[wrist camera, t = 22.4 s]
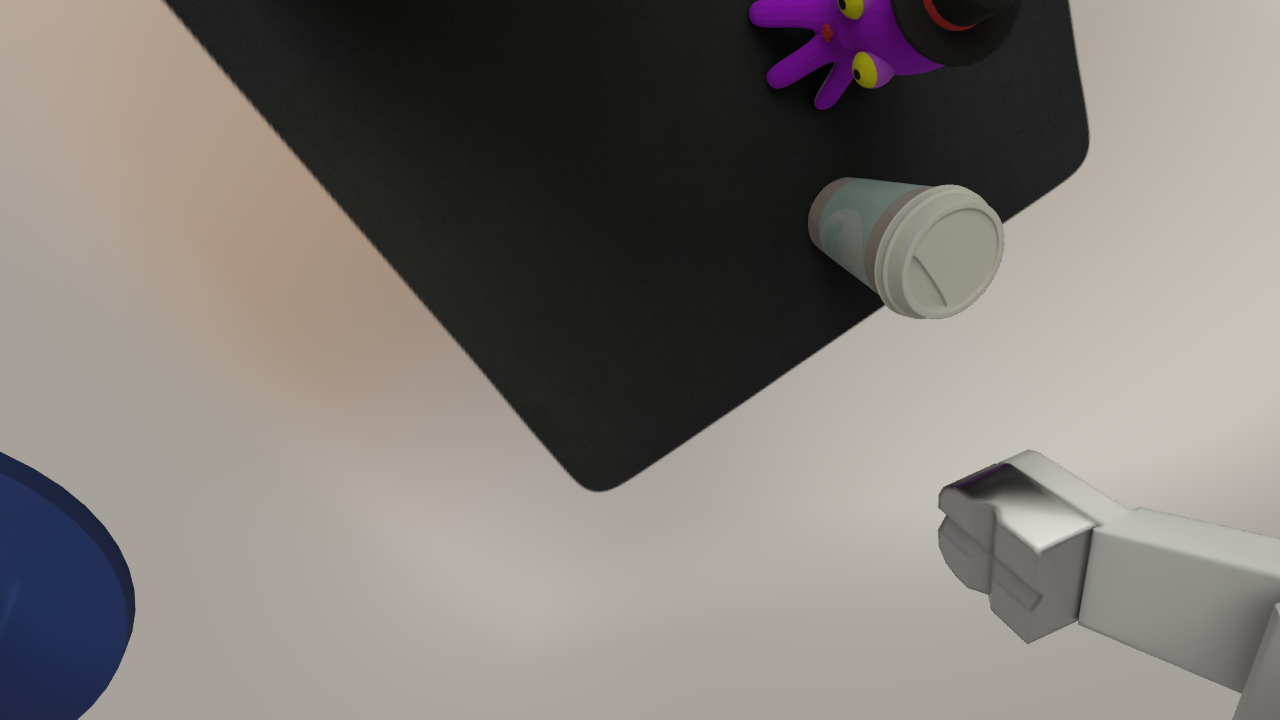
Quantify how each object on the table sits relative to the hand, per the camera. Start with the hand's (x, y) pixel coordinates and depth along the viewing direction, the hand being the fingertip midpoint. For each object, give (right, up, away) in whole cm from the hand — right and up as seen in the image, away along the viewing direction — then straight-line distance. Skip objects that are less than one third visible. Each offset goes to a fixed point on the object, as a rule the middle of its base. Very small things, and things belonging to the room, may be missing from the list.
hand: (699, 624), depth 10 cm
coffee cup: (+14, +15, +42) cm, 47 cm away
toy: (+11, +27, +35) cm, 46 cm away
